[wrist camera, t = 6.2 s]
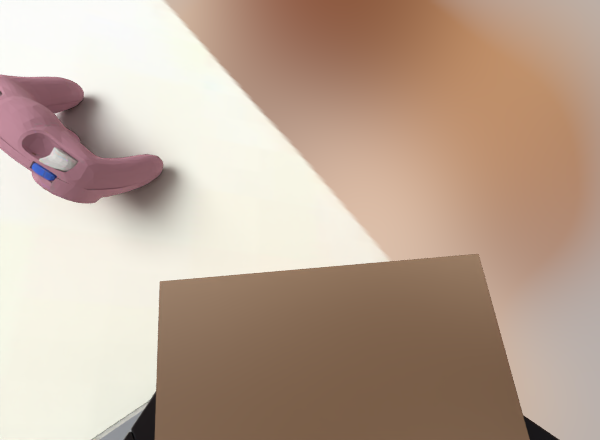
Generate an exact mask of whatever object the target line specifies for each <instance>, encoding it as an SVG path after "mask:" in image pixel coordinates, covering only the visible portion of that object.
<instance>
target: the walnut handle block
mask: <svg viewBox="0 0 600 440" xmlns="http://www.w3.org/2000/svg"><path fill="white" fill-rule="evenodd" d="M155 440H530V439H529V435H528V432H527V428H526V424H525V421H524V417H523V414H522V410H521V407H520V403H519V399H518V395H517V392H516V388H515V384H514V381H513V377H512V374H511V370H510V366H509V363H508V359H507V355H506V352H505V348H504V345H503V341H502V337H501V334H500V330H499V326H498V323H497V319H496V316H495V312H494V308H493V305H492V301H491V297H490V294H489V290H488V286H487V283H486V279H485V275H484V272H483V268H482V265H481V261H480V257H479V254H471V255H460V256H448V257H436V258H425V259H414V260H402V261H390V262H379V263H367V264H356V265H344V266H333V267H321V268H310V269H298V270H287V271H275V272H263V273H252V274H240V275H229V276H217V277H206V278H194V279H183V280H171V281H160V291H159V321H158V352H157V383H156V414H155Z"/></svg>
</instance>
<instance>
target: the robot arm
mask: <svg viewBox="0 0 600 440" xmlns="http://www.w3.org/2000/svg"><path fill="white" fill-rule="evenodd" d="M155 414H156V392H155V393H154V395H153V396H152V398H151V399H150V401H149V402H148V404H147V405H146V407H145V408H144V410H143V411H142V413H141V414H140V416H139V417H138V419H137V420H136V422H135V423H134V425H133V426H132V428H131V431H130V432H128V433H127V435H126V436H125V438H124V439H123V440H155ZM523 417H524V421H525V424H526V428H527V432H528V435H529V439H530V440H559V439H557V438H556V437H554V436H553V435H551V434H550V433H549V432H547V431H546V430H544V429H543V428H541V427H540V426H538V425H537V424H535V423H534V422H532V421H531V420H529V419H528V418H526V417H525V416H523Z"/></svg>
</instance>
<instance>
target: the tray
mask: <svg viewBox="0 0 600 440" xmlns="http://www.w3.org/2000/svg"><path fill="white" fill-rule="evenodd" d="M149 401H150V400H149ZM149 401H148V402H149ZM148 402H146V403H145V404H143V405H142V406H140V407H139V408H137V409H136V410H135V411H133V412H132V413H130V414H129V415H127V416H126V417H124V418H123V419H121V420H120V421H118V422H117V423H115V424H114V425H112V426H111V427H109V428H108V429H106V430H105V431H103V432H102V433H100V434H99V435H97V436H96V437H94V438H93V439H91V440H123V439H124V438H125V436H126V435H127V433H128V432H130V431H131V428H132V426H133V425H134V423H135V422H136V420H137V419H138V417H139V416H140V414H141V413H142V411H143V410H144V408H145V407H146V405H147V404H148Z"/></svg>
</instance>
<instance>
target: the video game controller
mask: <svg viewBox="0 0 600 440" xmlns="http://www.w3.org/2000/svg"><path fill="white" fill-rule="evenodd" d="M83 97H84V92H83V90H82V88H81V87H80V86H79V85H78V84H77V83H75V82H73V81H71V80H68V79H64V78H60V77H17V76H7V75H0V148H1V149H2V150H3V151H4V152H5V153H7V154H8V155H9V156H10V157H12V158H13V159H14V160H16V161H17V162H18V163H20V164H21V165H23V166H24V167H26V168H27V169H29V170H30V171H32V176H33V178H34V180H35V181H36V182H37V183H38V184H39V185H40V186H41V187H43V188H44V189H45V190H47V191H49V192H51V193H52V194H54V195H56V196H59V197H61V198H64V199H66V200H70V201H73V202H78V203H95V202H96V201H98V200H99V199H100V198H102V197H108V196H112V195H116V194H120V193H124V192H128V191H131V190H134V189H137V188H139V187H142V186H144V185H146V184H148V183H149V182H151V181H152V180H154V179H155V178H157V177H158V176H159V175H160V174H161V172H162V169H163V162H162V160H161V159H160V158H159V157H158V156H155V155H148V154H144V155H136V156H130V157H123V158H101V157H98V156H96V155H94V154H93V153H92V152H91V151H90V150H88V149H87V148H86V147H85V146H84V145H82V144H81V143H80V138H79V137H78V136H77V135H76V134H75V133H74V132H73V131H71V130H69V129H68V128H66V127H64V125H63V124H62V123H61V121H60V120H59V119H58V118H57V116H56V115H55V114H54V113H58V112H62V111H65V110H68V109H70V108H72V107H75V106H76V105H78V104H79V103H80V102H81V101H82V100H83Z"/></svg>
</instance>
